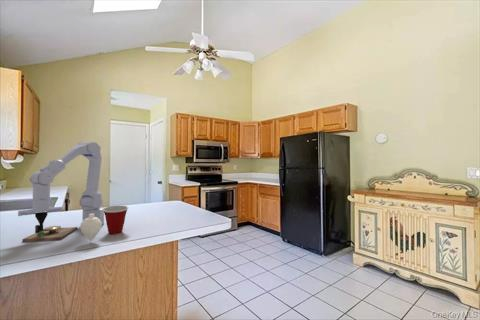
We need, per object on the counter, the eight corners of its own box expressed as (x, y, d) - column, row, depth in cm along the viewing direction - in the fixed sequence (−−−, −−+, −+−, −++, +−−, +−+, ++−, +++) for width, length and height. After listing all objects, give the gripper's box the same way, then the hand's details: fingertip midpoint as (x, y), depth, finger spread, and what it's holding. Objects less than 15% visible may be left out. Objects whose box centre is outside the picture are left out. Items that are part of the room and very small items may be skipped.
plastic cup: (101, 237, 103) (101, 210, 104) (102, 231, 113) (103, 206, 113) (128, 234, 108) (128, 208, 109) (127, 228, 118) (128, 204, 118)
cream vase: (98, 245, 94) (99, 215, 94) (76, 246, 92) (77, 216, 92) (103, 239, 101) (104, 211, 102) (83, 240, 99) (84, 212, 99)
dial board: (77, 229, 115) (77, 223, 115) (61, 239, 100) (61, 233, 100) (44, 231, 112) (44, 225, 112) (22, 242, 96) (22, 235, 96)
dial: (55, 226, 110) (55, 220, 110) (63, 227, 108) (64, 221, 108) (30, 232, 101) (31, 225, 101) (39, 233, 98) (40, 226, 99)
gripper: (61, 196, 109) (61, 225, 109) (19, 199, 99) (18, 231, 99) (62, 198, 103) (62, 228, 103) (17, 201, 94) (17, 235, 94)
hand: (41, 230), depth 101 cm, fingers closed, pressing on dial
